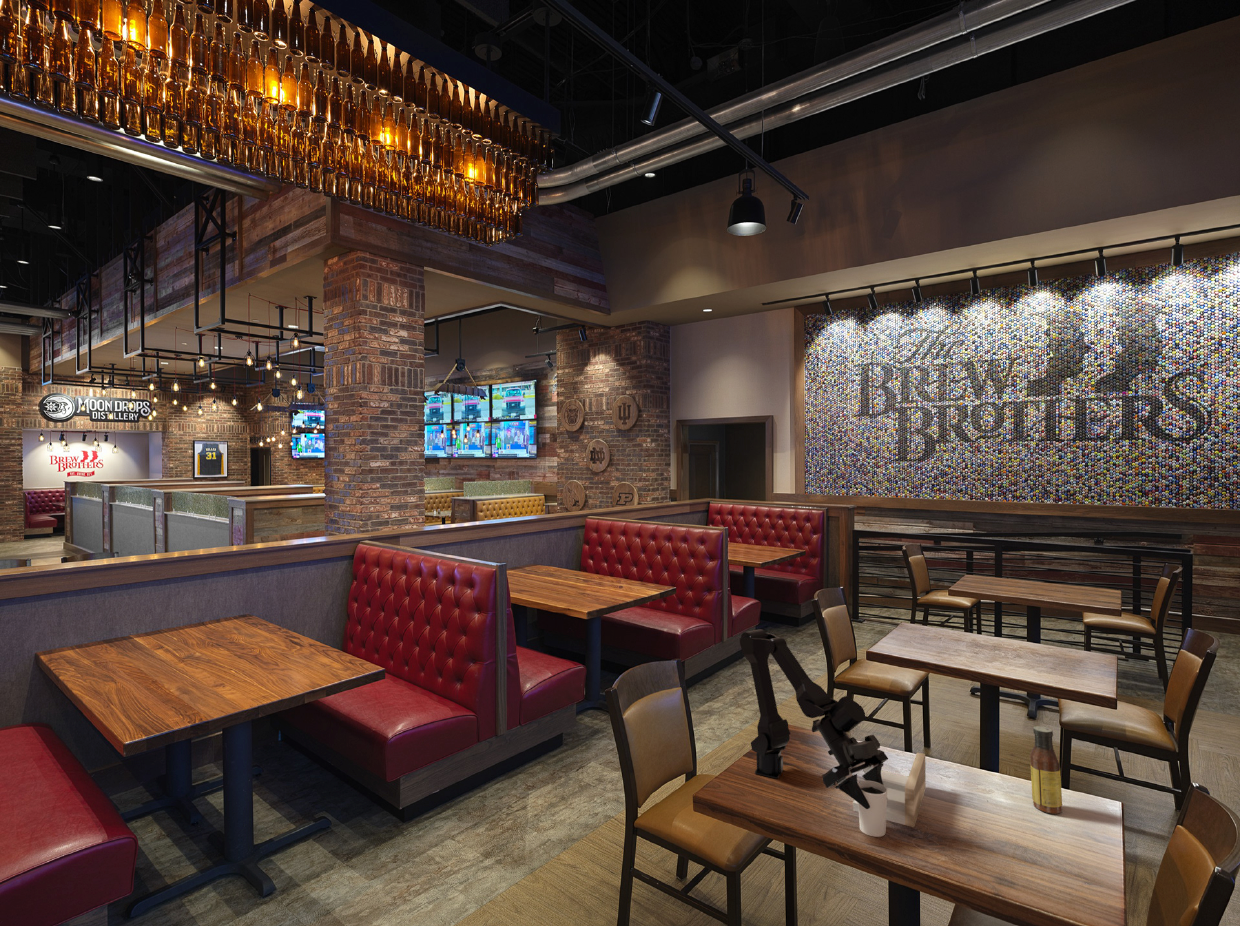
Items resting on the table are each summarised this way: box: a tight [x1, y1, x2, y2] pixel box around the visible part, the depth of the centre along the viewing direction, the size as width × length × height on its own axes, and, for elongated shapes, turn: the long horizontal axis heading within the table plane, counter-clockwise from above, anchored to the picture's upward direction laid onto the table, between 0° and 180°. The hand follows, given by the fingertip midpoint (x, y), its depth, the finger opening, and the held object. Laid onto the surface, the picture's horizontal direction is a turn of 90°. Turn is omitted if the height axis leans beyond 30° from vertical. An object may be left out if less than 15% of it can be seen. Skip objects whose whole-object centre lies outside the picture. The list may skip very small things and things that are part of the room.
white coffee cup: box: [857, 780, 887, 838], centre depth 148 cm, size 7×7×10 cm
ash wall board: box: [904, 752, 927, 828], centre depth 158 cm, size 2×22×9 cm, turn 147°
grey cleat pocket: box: [852, 769, 909, 826], centre depth 162 cm, size 12×22×4 cm, turn 147°
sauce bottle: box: [1029, 725, 1063, 815], centre depth 157 cm, size 7×6×20 cm
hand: (877, 804), depth 147 cm, fingers closed on white coffee cup, 6 cm apart
